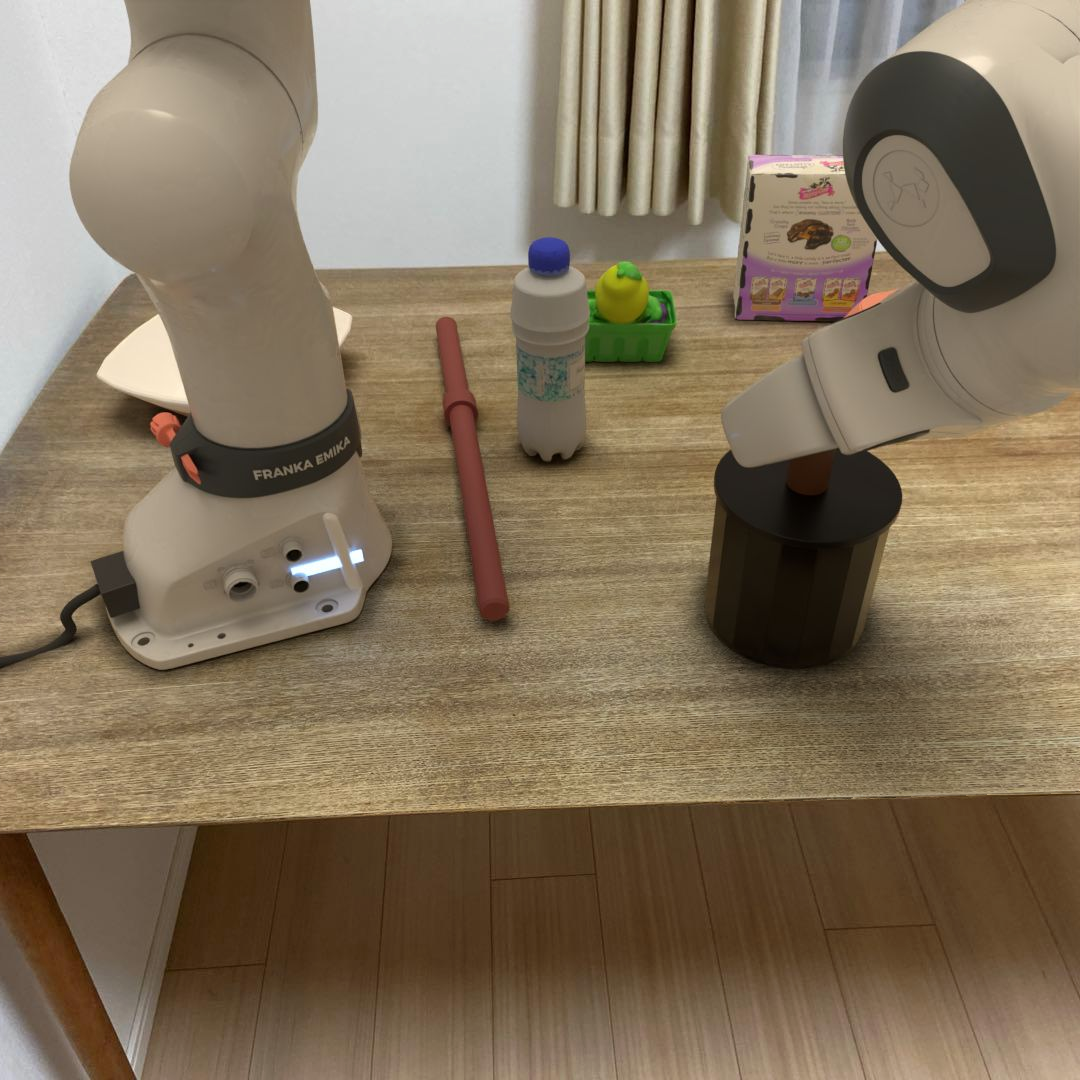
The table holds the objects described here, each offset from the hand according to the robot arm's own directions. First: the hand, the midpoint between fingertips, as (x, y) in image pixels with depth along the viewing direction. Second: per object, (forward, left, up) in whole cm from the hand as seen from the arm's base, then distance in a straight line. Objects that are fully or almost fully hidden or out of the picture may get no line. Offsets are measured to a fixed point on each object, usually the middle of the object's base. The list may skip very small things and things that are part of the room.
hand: (814, 417), depth 66 cm
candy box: (+34, +36, -17) cm, 52 cm away
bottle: (-3, +28, -17) cm, 33 cm away
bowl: (-24, +54, -17) cm, 61 cm away
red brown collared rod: (-10, +31, -17) cm, 37 cm away
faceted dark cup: (0, 0, -17) cm, 17 cm away
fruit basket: (+12, +39, -17) cm, 44 cm away
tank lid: (0, 0, -6) cm, 6 cm away
